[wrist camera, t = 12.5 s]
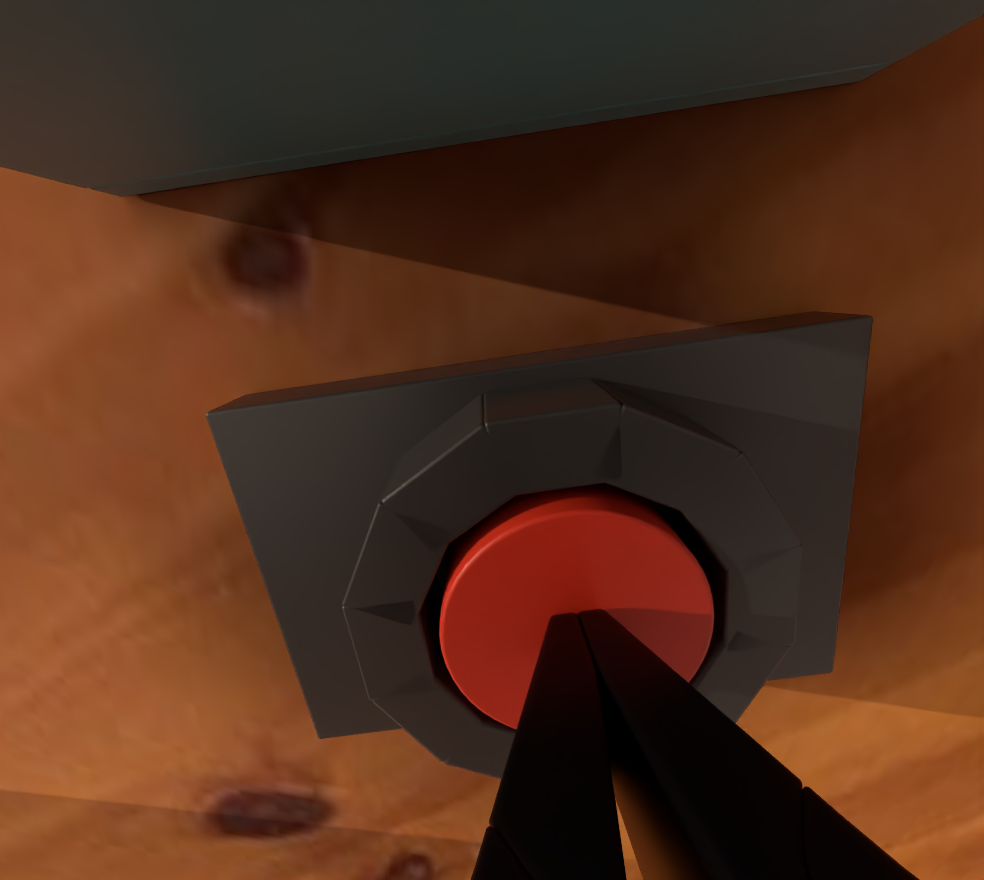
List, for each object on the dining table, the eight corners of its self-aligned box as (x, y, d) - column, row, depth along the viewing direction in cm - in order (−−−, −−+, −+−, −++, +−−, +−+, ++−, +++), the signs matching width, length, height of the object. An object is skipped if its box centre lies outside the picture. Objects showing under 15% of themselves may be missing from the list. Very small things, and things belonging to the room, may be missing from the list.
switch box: (816, 310, 9) (997, 322, 6) (791, 627, 12) (911, 758, 9) (243, 394, 10) (121, 450, 6) (337, 687, 12) (283, 837, 9)
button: (670, 450, 8) (718, 491, 7) (674, 647, 10) (715, 722, 8) (427, 484, 8) (413, 533, 7) (465, 675, 10) (462, 754, 8)
